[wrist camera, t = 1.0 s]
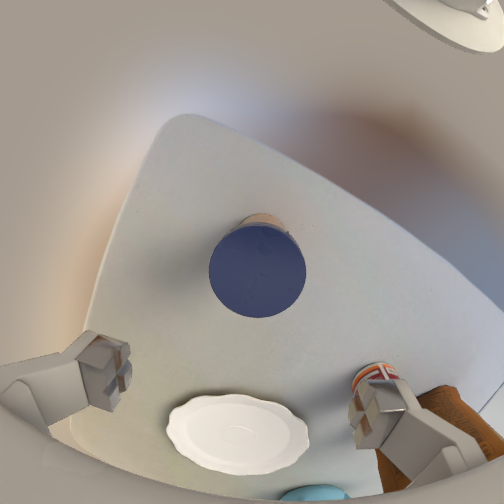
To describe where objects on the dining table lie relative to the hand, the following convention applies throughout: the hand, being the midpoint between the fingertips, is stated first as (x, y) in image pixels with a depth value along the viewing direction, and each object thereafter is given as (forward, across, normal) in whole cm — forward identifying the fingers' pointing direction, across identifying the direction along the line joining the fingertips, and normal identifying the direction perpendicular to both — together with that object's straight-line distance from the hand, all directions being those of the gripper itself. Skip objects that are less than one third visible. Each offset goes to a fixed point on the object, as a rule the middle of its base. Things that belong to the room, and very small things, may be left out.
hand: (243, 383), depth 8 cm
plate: (+21, -1, +30) cm, 36 cm away
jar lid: (+11, 0, 0) cm, 11 cm away
